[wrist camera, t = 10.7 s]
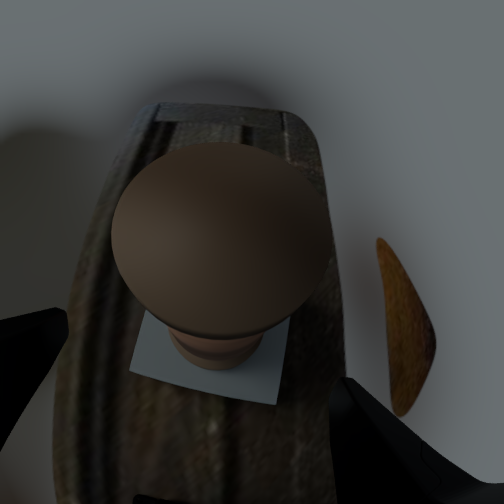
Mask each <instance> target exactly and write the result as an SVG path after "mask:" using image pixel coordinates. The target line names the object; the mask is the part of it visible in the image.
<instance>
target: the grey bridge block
mask: <svg viewBox="0 0 504 504" xmlns="http://www.w3.org/2000/svg"><path fill="white" fill-rule="evenodd" d="M289 321H290V316H289V317H288V318H287V319H286V320H284V321H283V322H282V323H280V324H278V325H277V326H275V327H273V328H271V329H269V330H267V331H266V332H265V333H264V335H263V338H262V340H261V343H260V345H259V346H258V348H257V349H256V351H255V352H254V353H253V354H252V355H251V356H250V357H249V358H248V359H247V360H246V361H245V362H243V363H242V364H240V365H238V366H236V367H233V368H231V369H226V370H207V369H203V368H200V367H198V366H196V365H194V364H192V363H190V362H189V361H188V360H186V359H185V358H184V357H183V356H182V355H181V354H180V353H179V352H178V350H177V349H176V347H175V346H174V344H173V342H172V340H171V338H170V335H169V331H168V327H167V326H166V325H165V324H164V323H162V322H161V321H159V320H158V319H156V318H155V317H154V316H153V315H152V314H151V313H150V312H148V311H147V310H146V312H145V315H144V318H143V322H142V325H141V329H140V332H139V336H138V339H137V343H136V347H135V350H134V354H133V358H132V362H131V366H130V370H129V371H132V372H135V373H138V374H141V375H144V376H148V377H151V378H154V379H157V380H161V381H164V382H168V383H172V384H175V385H179V386H183V387H187V388H191V389H195V390H199V391H203V392H207V393H212V394H217V395H221V396H226V397H231V398H237V399H242V400H248V401H254V402H260V403H266V404H273V405H276V402H277V396H278V390H279V385H280V379H281V373H282V367H283V361H284V354H285V348H286V342H287V335H288V328H289Z"/></svg>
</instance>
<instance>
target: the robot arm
mask: <svg viewBox="0 0 504 504" xmlns="http://www.w3.org/2000/svg"><path fill="white" fill-rule="evenodd" d="M68 335H69V328H68V319H67V313H66V311H64V310H62V309H60V308H57V307H54V308H50V309H45V310H41V311H37V312H33V313H28V314H24V315H20V316H16V317H11V318H7V319H3V320H0V451H1V449H2V447H3V446H4V444H5V442H6V440H7V438H8V436H9V435H10V433H11V431H12V429H13V428H14V426H15V424H16V422H17V421H18V419H19V417H20V416H21V414H22V412H23V411H24V409H25V408H26V406H27V404H28V403H29V401H30V399H31V398H32V396H33V395H34V393H35V392H36V390H37V389H38V387H39V386H40V384H41V382H42V381H43V380H44V378H45V377H46V375H47V374H48V372H49V370H50V369H51V367H52V365H53V363H54V361H55V360H56V358H57V356H58V354H59V352H60V350H61V349H62V347H63V345H64V343H65V342H66V340H67V338H68ZM329 428H330V446H331V454H332V461H333V469H334V477H335V485H336V494H337V503H338V504H504V483H497V484H494V483H486V482H482V481H479V480H478V479H476V478H474V477H473V476H471V475H469V474H468V473H467V472H465V471H464V470H462V469H461V468H459V467H458V466H456V465H455V464H453V463H452V462H450V461H449V460H448V459H446V458H445V457H443V456H442V455H441V454H439V453H438V452H437V451H436V450H434V449H433V448H432V447H431V446H429V445H428V444H427V443H426V442H425V441H423V440H422V439H421V438H420V437H419V436H418V435H417V434H415V433H414V432H413V431H412V430H411V429H410V428H408V427H407V426H406V425H405V424H404V423H403V422H401V421H400V420H399V419H398V418H397V417H396V416H395V415H393V414H392V413H391V412H390V411H389V410H388V409H387V408H385V407H384V406H383V405H382V404H381V403H380V402H379V401H378V400H376V399H375V398H374V397H373V396H372V395H371V394H369V392H367V391H366V390H365V389H364V388H363V387H362V386H361V385H360V384H358V383H357V382H356V381H355V380H354V379H353V378H348V377H341V378H339V379H338V381H337V383H336V385H335V387H334V389H333V391H332V392H331V394H330V397H329ZM138 498H140V499H142V501H143V502H140V501H138ZM133 504H180V503H176V502H172V501H168V500H164V499H158V500H157V499H154V498H150V497H147V496H144V495H140V494H138V495H136V496H135V497H134V498H133Z"/></svg>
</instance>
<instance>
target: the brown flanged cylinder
mask: <svg viewBox="0 0 504 504" xmlns="http://www.w3.org/2000/svg"><path fill="white" fill-rule="evenodd" d="M111 235H112V248H113V253H114V258H115V261H116V264H117V266H118V269H119V272H120V274H121V275H122V277H123V279H124V281H125V282H126V284H127V285H128V287H129V288H130V290H131V291H132V293H133V294H134V295H135V297H136V298H137V299H138V300H139V302H140V303H141V304H142V305H143V307H144V308H145V309H146V310H147V311H148V312H150V313H151V314H152V315H153V316H154V317H155V318H156V319H158V320H159V321H161V322H162V323H164V324H165V325H166V326H167V327H168V331H169V335H170V338H171V340H172V342H173V344H174V346H175V347H176V349H177V350H178V352H179V353H180V354H181V355H182V356H183V357H184V358H185V359H186V360H188V361H189V362H190V363H192V364H194V365H196V366H198V367H200V368H203V369H207V370H226V369H231V368H233V367H236V366H238V365H240V364H242V363H243V362H245V361H246V360H247V359H248V358H249V357H250V356H251V355H252V354H253V353H254V352H255V351H256V349H257V348H258V346H259V345H260V343H261V340H262V338H263V335H264V333H265V332H266V331H267V330H269V329H271V328H273V327H275V326H277V325H278V324H280V323H282V322H283V321H284V320H286V319H287V318H288V317H289V316H291V315H292V314H293V313H294V312H295V311H296V310H297V309H298V308H299V307H300V306H301V305H302V304H303V303H304V302H305V301H306V299H307V298H308V297H309V296H310V295H311V294H312V293H313V292H314V291H315V289H316V288H317V286H318V284H319V283H320V281H321V280H322V278H323V276H324V274H325V271H326V269H327V267H328V263H329V260H330V256H331V249H332V229H331V223H330V218H329V215H328V212H327V209H326V207H325V205H324V203H323V201H322V199H321V197H320V195H319V193H318V192H317V190H316V189H315V188H314V186H313V185H312V184H311V183H310V181H309V180H308V179H307V178H306V177H305V176H304V175H303V174H302V173H301V172H300V171H299V170H297V169H296V168H295V167H293V166H292V165H291V164H289V163H288V162H286V161H285V160H283V159H281V158H280V157H278V156H276V155H274V154H271V153H269V152H267V151H264V150H262V149H259V148H256V147H252V146H248V145H243V144H237V143H226V142H212V143H202V144H195V145H191V146H187V147H183V148H180V149H178V150H175V151H172V152H170V153H168V154H166V155H164V156H162V157H160V158H158V159H157V160H155V161H153V162H152V163H151V164H149V165H148V166H147V167H145V168H144V169H143V170H142V171H141V172H140V173H139V174H138V175H137V176H136V177H135V178H134V179H133V180H132V181H131V183H130V184H129V185H128V186H127V188H126V189H125V191H124V193H123V194H122V196H121V198H120V200H119V203H118V205H117V207H116V210H115V214H114V218H113V223H112V232H111Z"/></svg>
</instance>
